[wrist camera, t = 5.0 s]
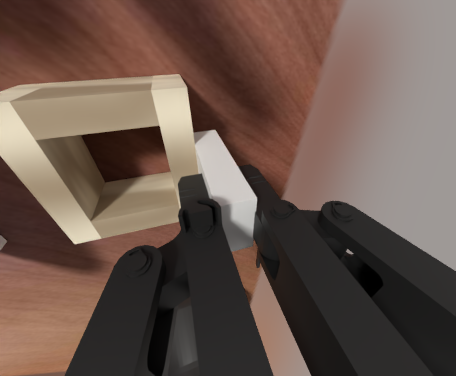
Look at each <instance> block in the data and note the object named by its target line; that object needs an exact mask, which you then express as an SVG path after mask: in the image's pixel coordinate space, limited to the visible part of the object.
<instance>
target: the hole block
mask: <svg viewBox="0 0 456 376" xmlns="http://www.w3.org/2000/svg"><path fill="white" fill-rule="evenodd" d="M151 126H160V129H161V133H162V137H163V142H164V146H165V150H166V154H167V158H168V162H169V166H170V170H171V172H165V173H159V174H153V175H147V176H141V177H135V178H129V179H123V180H117V181H111V182H105V181H104V179H103V177H102V175H101V173H100V171H99V170H98V168H97V166H96V164H95V162H94V160H93V158H92V156H91V154H90V152H89V150H88V148H87V146H86V144H85V142H84V140H83V138H82V136H81V135H83V134H92V133H100V132H109V131H117V130H126V129H134V128H143V127H151ZM0 156H1V157H2V158H3V160H4V161H5V162H6V163H7V164H8V166H9V167H10V168H11V169H12V170H13V172H14V173H15V174H16V175H17V176H18V177H19V179H20V180H21V181H22V182H23V183H24V185H25V186H26V187H27V188H28V189H29V191H30V192H31V193H32V194H33V195H34V197H35V198H36V199H37V200H38V201H39V203H40V204H41V205H42V206H43V207H44V208H45V210H46V211H47V212H48V213H49V214H50V216H51V217H52V218H53V219H54V220H55V222H56V223H57V224H58V225H59V226H60V228H61V229H62V230H63V231H64V232H65V233H66V235H67V236H68V237H69V238H70V239H71V241H72V242H73V243H74V244H78V243H83V242H87V241H92V240H97V239H101V238H106V237H110V236H115V235H120V234H124V233H129V232H133V231H138V230H143V229H147V228H152V227H156V226H161V225H166V224H170V223H175V222H179V218H178V213H179V210H180V208H181V206H180V198H179V190H178V182H179V180H180V178H181V177H183V176H189V175H195V174H199V172H198V165H197V157H196V150H195V141H194V134H193V127H192V120H191V113H190V105H189V98H188V91H187V86H186V85H185V83H184V81H183V79H182V78H181V76H180V74H174V75H159V76H145V77H130V78H115V79H100V80H85V81H70V82H56V83H41V84H26V85H18V86H15V87H13V88H10V89H7V90H4V91H1V92H0Z"/></svg>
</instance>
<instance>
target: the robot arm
mask: <svg viewBox="0 0 456 376" xmlns="http://www.w3.org/2000/svg"><path fill="white" fill-rule="evenodd" d="M193 134H194V141H195V150H196V157H197V165H198V172H199V174H195V175H189V176H183V177H181V178H180V180H179V182H178V190H179V198H180V206H181V208H180V210H179V213H178V218H179V222H180V226H181V231H180V233H179V234H178V235H177V236H176V237H175V238H174V239H173V240H172V241H170V242H169V243H167V244H165V245H163V246H161V247H159V248H155V247H154V246H148V245H143V246H138V247H135V248H133V249H131V250H129V251H127V252H126V253H125V254H124V255H123V256H122V257H120V259H119V260H118V262H117V263H116V265H115V266H114V268H113V271H112V273H111V275H110V277H109V279H108V282H107V284H106V286H105V288H104V290H103V293H102V295H101V297H100V299H99V301H98V303H97V306H96V308H95V310H94V312H93V314H92V317H91V319H90V321H89V323H88V325H87V328H86V330H85V332H84V334H83V336H82V339H81V341H80V343H79V345H78V347H77V350H76V352H75V354H74V356H73V358H72V361H71V363H70V365H69V367H68V369H67V372H66V374H65V376H273V373H272V370H271V367H270V364H269V361H268V358H267V355H266V352H265V349H264V346H263V343H262V340H261V337H260V335H259V332H258V329H257V326H256V323H255V320H254V317H253V314H252V311H251V308H250V305H249V302H248V299H247V296H246V293H245V290H244V288H243V285H242V282H241V279H240V276H239V273H238V270H237V267H236V264H235V261H234V258H233V255H232V251H236V250H240V249H244V248H247V247H251V246H253V239H254V240H255V242H256V244H257V246H258V250H257V258H256V266H257V268H259V267H260V263H261V265H262V267H263V270H264V272H265V274H266V276H267V278H268V281H269V283H270V285H271V287H272V290H273V292H274V294H275V296H276V298H277V301H278V303H279V305H280V307H281V310H282V312H283V314H284V316H285V318H286V321H287V323H288V325H289V327H290V329H291V332H292V334H293V336H294V338H295V341H296V343H297V345H298V347H299V349H300V352H301V354H302V356H303V358H304V360H305V363H306V365H307V367H308V369H309V372H310V374H311V376H456V271H454V270H453V269H451V268H450V267H448V266H446V265H445V264H443V263H442V262H440V261H439V260H437V259H435V258H434V257H432V256H431V255H429V254H427V253H426V252H424V251H423V250H421V249H420V248H418V247H417V246H415V245H413V244H412V243H410V242H409V241H407V240H405V239H404V238H402V237H401V236H399V235H397V234H396V233H394V232H393V231H391V230H390V229H388V228H387V227H385V226H383V225H382V224H380V223H379V222H377V221H375V220H374V219H372V218H371V217H369V216H367V215H366V214H364V213H363V212H361V211H360V210H358V209H356V208H355V207H353V206H351V205H349V204H347V203H344V202H340V201H330V202H326V203H325V204H324V205H323V206H322V208H321V211H310V210H299V209H298V208H297V207H296V206H295V205H294V204H292V203H290V202H288V201H286V200H281V199H280V198H279V197H278V195H277V194H276V193H275V191H274V190H273V189H272V187H271V186H270V185H269V183H268V182H267V181H266V179H265V178H264V177H263V176H262V174H261V173H260V171H259V170H258V169H257V168H255V167H253V166H252V165H244V166H237V165H236V163H235V161H234V160H233V158H232V156H231V155H230V153H229V151H228V150H227V148H226V147H225V145H224V143H223V142H222V140H221V138H220V137H219V135H218V134H217V132H216V130H210V131H202V132H194V133H193ZM347 249H349V250H350V251H351V252H352V253H354V254H352V255H351V254H348V253H347V252H346V250H347Z"/></svg>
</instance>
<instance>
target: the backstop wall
mask: <svg viewBox="0 0 456 376" xmlns="http://www.w3.org/2000/svg"><path fill="white" fill-rule="evenodd" d="M6 242H7V240H6V239H4V238H3V237H2V236H1V235H0V250H1V249H2V248H3V246H4V245H5V244H6Z"/></svg>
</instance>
